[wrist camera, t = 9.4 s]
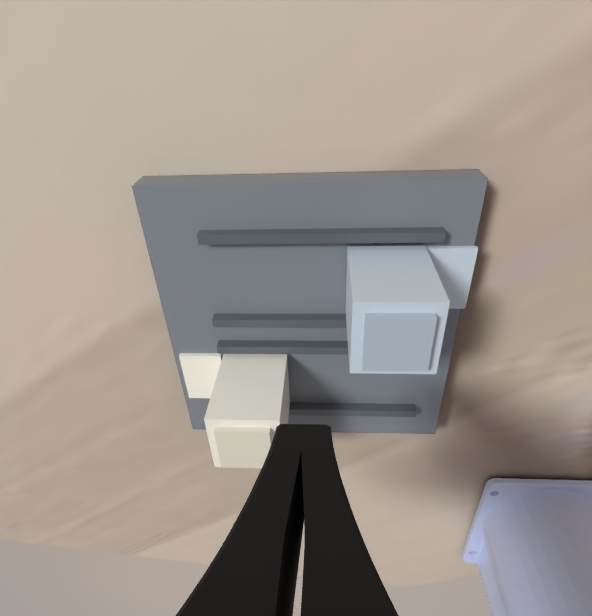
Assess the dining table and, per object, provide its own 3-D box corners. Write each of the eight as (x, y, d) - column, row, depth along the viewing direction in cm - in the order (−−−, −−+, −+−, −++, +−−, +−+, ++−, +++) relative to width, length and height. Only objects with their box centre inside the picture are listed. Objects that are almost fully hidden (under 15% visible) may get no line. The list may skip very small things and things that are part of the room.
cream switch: (290, 400, 22) (283, 474, 18) (231, 399, 22) (213, 473, 19) (287, 354, 20) (279, 426, 17) (223, 353, 20) (202, 425, 17)
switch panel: (432, 416, 24) (438, 441, 22) (198, 412, 25) (190, 436, 23) (481, 169, 16) (495, 183, 15) (142, 176, 17) (126, 190, 16)
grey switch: (416, 309, 18) (438, 380, 15) (345, 310, 19) (350, 379, 15) (425, 245, 17) (452, 307, 13) (347, 246, 17) (353, 307, 13)
